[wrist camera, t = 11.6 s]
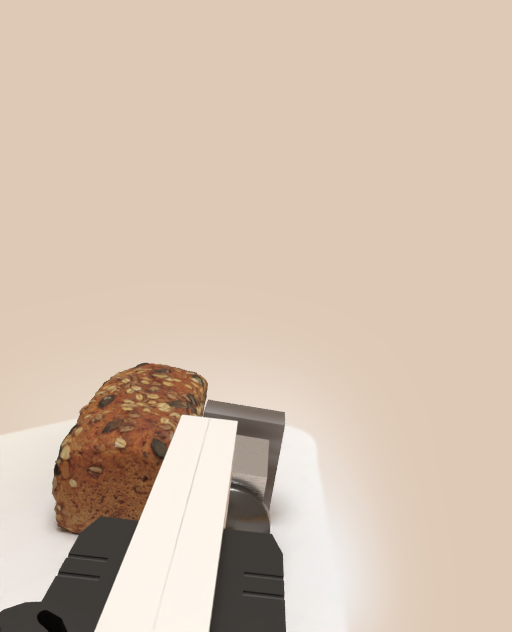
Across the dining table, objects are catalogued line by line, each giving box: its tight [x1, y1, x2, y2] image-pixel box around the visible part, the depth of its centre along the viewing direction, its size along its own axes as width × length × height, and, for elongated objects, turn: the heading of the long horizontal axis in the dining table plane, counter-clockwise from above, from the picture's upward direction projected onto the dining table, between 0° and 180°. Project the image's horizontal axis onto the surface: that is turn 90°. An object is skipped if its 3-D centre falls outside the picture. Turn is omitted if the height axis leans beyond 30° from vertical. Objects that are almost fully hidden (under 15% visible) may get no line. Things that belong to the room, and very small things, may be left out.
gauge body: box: [203, 400, 285, 511], centre depth 33 cm, size 22×7×10 cm, turn 177°
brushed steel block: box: [225, 435, 270, 534], centre depth 35 cm, size 6×7×9 cm
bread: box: [52, 363, 208, 534], centre depth 45 cm, size 19×11×10 cm, turn 178°
